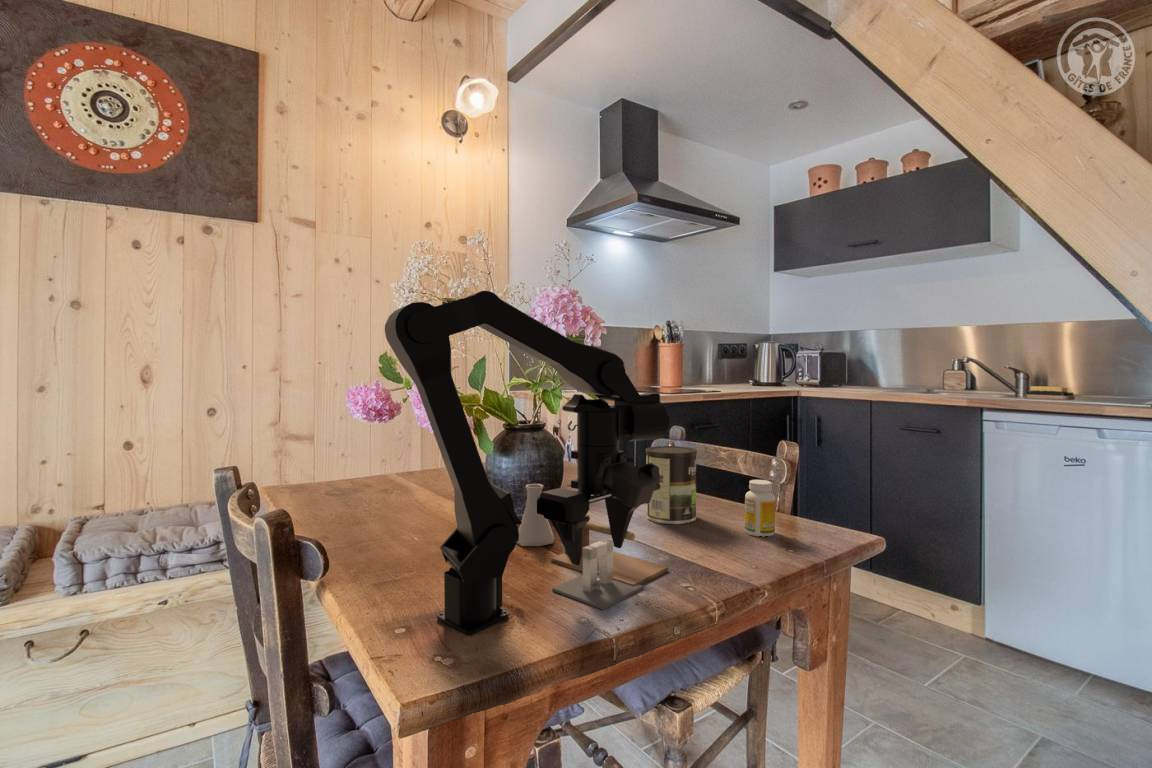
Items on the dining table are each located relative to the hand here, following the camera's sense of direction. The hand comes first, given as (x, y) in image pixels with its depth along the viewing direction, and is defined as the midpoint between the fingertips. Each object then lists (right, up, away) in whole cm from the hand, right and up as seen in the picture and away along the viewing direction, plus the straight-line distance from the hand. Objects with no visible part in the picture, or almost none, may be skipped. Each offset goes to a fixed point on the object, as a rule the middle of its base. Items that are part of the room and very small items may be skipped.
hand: (597, 555), depth 77 cm
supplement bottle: (+31, -4, +26) cm, 41 cm away
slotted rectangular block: (0, -4, 0) cm, 4 cm away
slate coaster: (0, -5, 0) cm, 5 cm away
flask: (-10, -4, +22) cm, 24 cm away
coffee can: (+16, -4, +37) cm, 40 cm away
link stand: (+2, -5, +9) cm, 11 cm away
